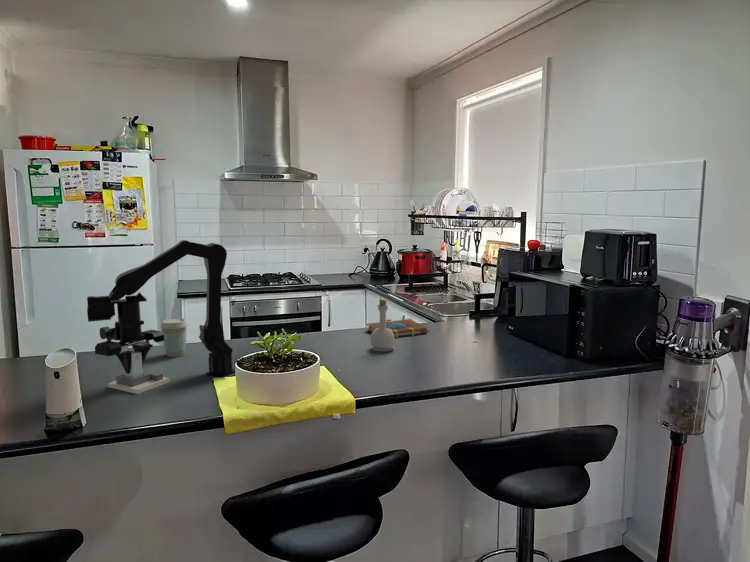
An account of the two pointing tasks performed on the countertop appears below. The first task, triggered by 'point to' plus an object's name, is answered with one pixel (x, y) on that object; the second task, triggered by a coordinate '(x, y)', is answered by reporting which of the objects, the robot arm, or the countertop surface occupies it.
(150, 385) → the board
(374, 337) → the potion bottle
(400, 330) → the book
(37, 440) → the countertop surface
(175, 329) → the coffee cup
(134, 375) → the plug
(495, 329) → the countertop surface
